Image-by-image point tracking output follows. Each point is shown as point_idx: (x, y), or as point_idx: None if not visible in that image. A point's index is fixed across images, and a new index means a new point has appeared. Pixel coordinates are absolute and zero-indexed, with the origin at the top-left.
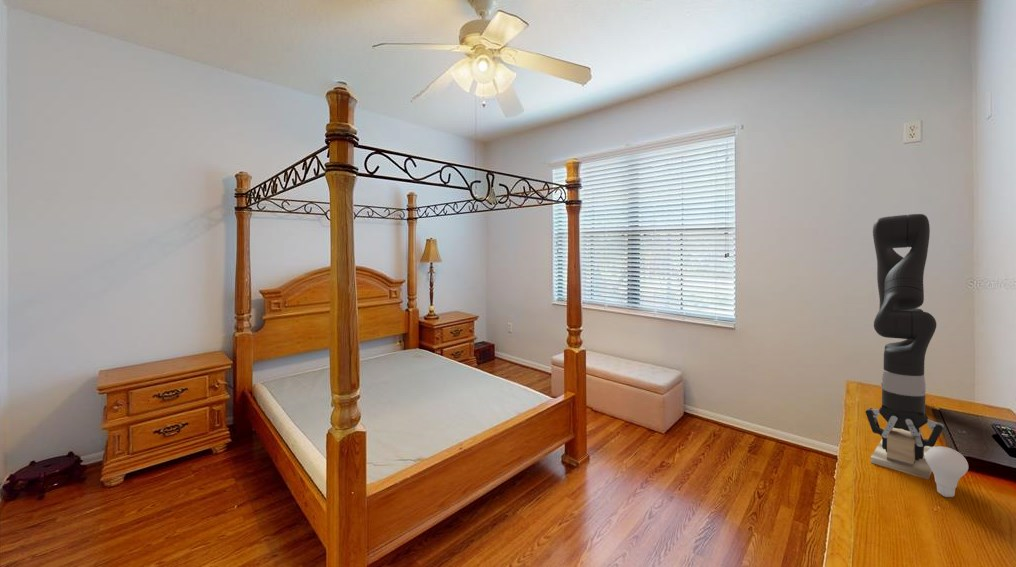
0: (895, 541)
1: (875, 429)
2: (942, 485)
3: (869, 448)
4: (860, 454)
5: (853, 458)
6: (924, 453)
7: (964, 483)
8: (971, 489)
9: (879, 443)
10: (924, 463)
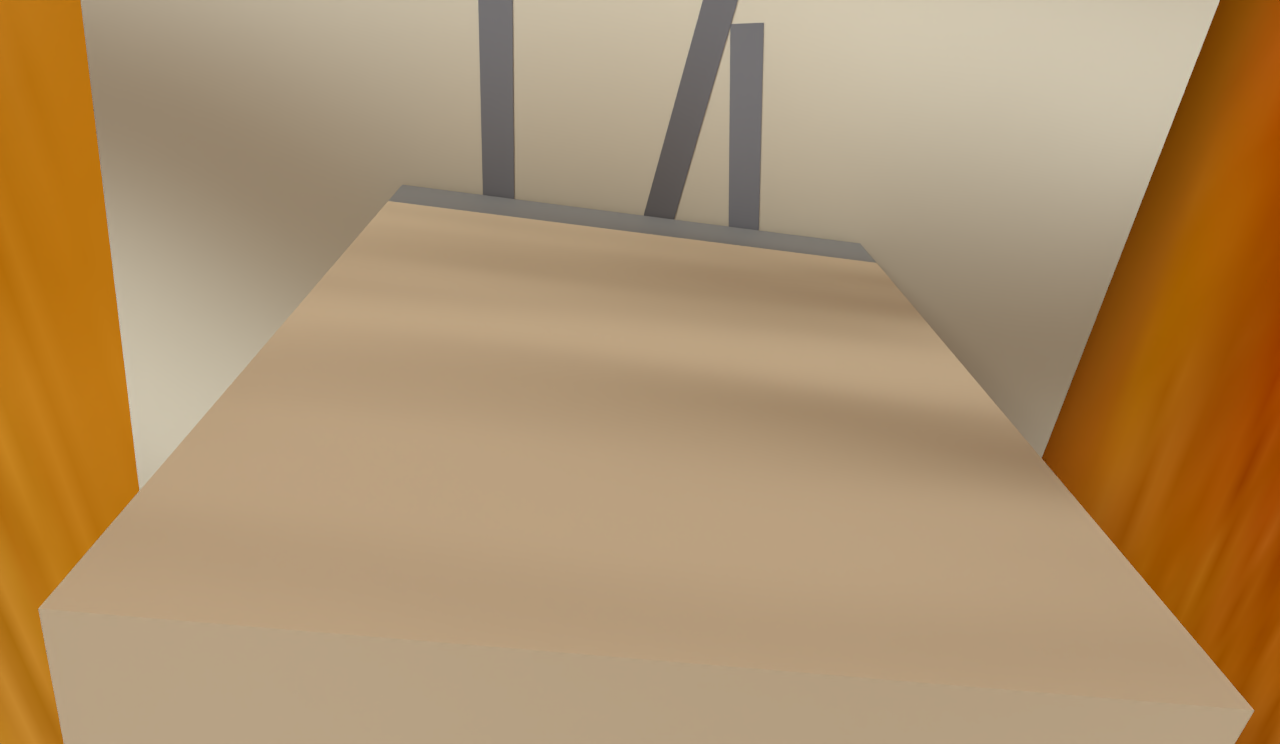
0: None
1: None
2: None
3: (13, 122)
4: (15, 534)
5: (7, 731)
6: (1017, 16)
7: (1250, 625)
8: (1256, 733)
9: (88, 13)
10: None
